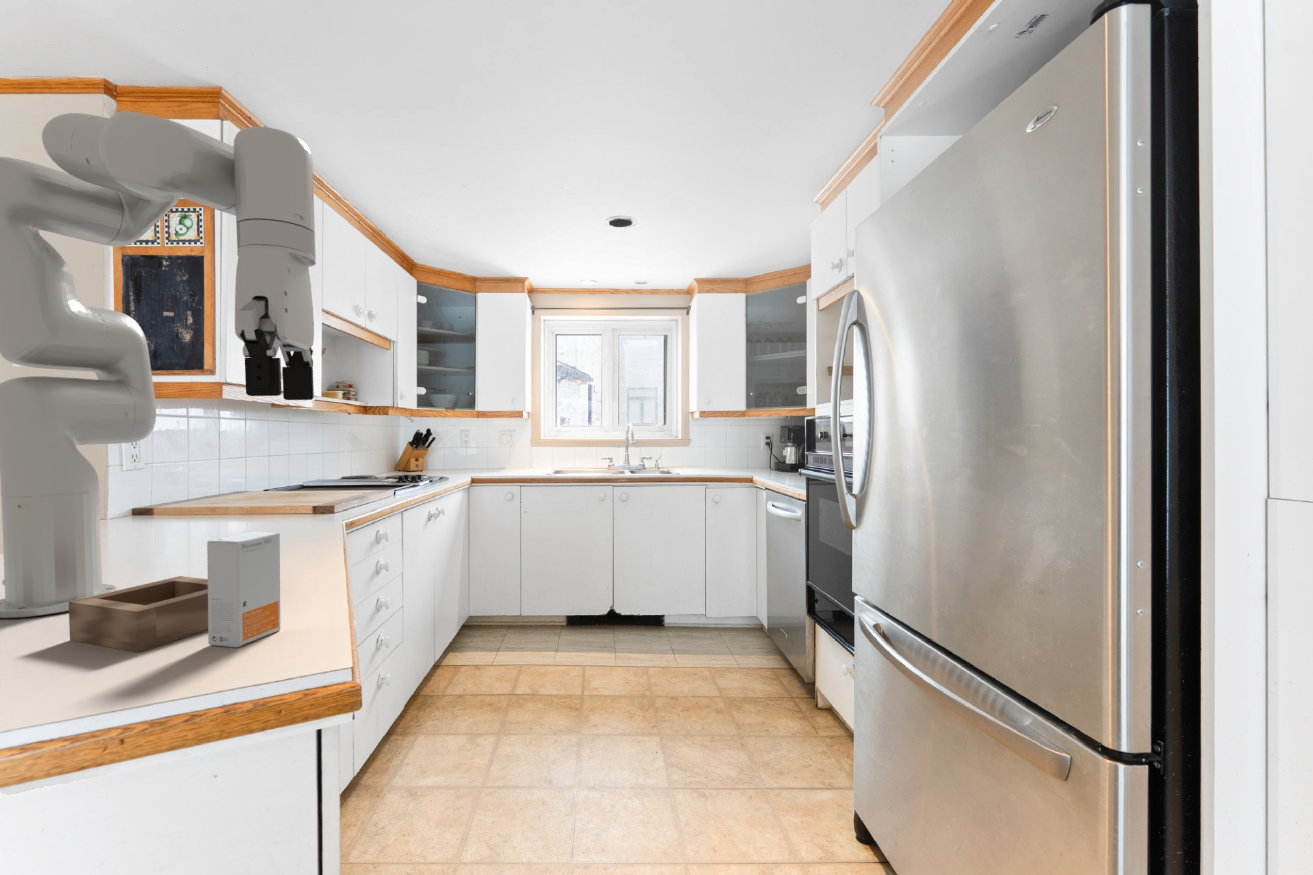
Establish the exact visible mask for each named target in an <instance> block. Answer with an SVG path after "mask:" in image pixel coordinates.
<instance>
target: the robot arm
mask: <svg viewBox="0 0 1313 875" xmlns="http://www.w3.org/2000/svg"><path fill="white" fill-rule="evenodd" d="M41 141H42V144H43V147H44V149H45V152H46V154H47V155H48V157H49V158H50V159H51V160H52V162H53V163H55V165H57V167H59V168H60V169H61V170H62V171H61V170H58V169H55V168H51V167H49V166H46V165H42V164H38V163H34V162H30V161H27V160H22V159H19V158H14V157H8V156H7V157H6V156H0V355H1V356H2V358H4V360H6V361H7V362H9V363H11V364H14V365H18V366H21V367H27V368H36V369H46V370H59V371H75V372H76V371H78V372H92V373H95V375H96V377H97V379H94V378H93V379H92V378H80V377H79V378H78V377H67V376H65V377H64V376H41V375H39V376H34V375H33V376H21V377H20V376H19V377H15V378H10V379H7V380H5V381H3V382H1V383H0V496H1V520H2V521H1V522H2V523H1V526H2V548H3V549H2V550H3V552H2V553H3V579H2V585H3V586H4V598H2V599H0V619H3V618H4V619H9V618H12V619H13V618H15V619H16V618H31V617H38V616H39V617H40V616H46V615H52V614H57V613H64V612H69V602H70V601H74V600H78V599H83V598H87V597H91V596H96V595H100V594H105V593H109V592H113V591H118V590H117V589H118V587H117V586H115V585H113V584H108V583H107V584H106V583H103V576H102V574H103V573H102V569H103V568H102V544H101V542H102V539H101V513H100V512H101V510H100V509H101V508H100V506H101V504H100V484H99V483H100V481H99V476H98V472H97V471H96V469H95V467H94V466H93V464H92V463H91V462H90V461H89V459H87V457H86V456H84V454H82V452H80V450H79V449H78V448H77V446H84V445H85V446H86V445H117V444H131V443H137V442H140V441H142V440H144V439H146V438H147V437H149V435H150V434H152V431H153V430H154V428H155V425H156V422H157V421H156V419H157V404H156V395H155V389H154V381H153V374H152V367H151V359H150V353H149V346H148V341H147V338H146V334H145V333H144V331H143V329H142V327H141V326H140V325H139V323H138V322H137V321H136V320H135V319H134V318H132V317H131V316H129V315H127V314H126V313H123V312H121V311H117V310H112V309H106V308H101V307H95V306H94V307H93V306H86V305H83V304H82V303H81V302H80V301H79V300H78V298H77V294H76V289H75V278H74V274H73V271H72V269H71V267H70V266H69V264H68V262H66V260H65V259H64V258H63V257H62V255H61V253H59V252H58V251H57V250H56V248H55V247H54V246H52V244H51V243H49V242H48V241H47V240H46V239H45V238H44V237H43V236H42V235H41V234H40V231H43V232H49V233H51V234H57V235H59V236H60V235H61V236H64V237H65V236H66V237H68V238H73V239H77V240H81V241H86V242H91V243H94V244H99V245H104V246H110V247H116V248H117V247H127V246H130V245H132V244H133V243H135V242H136V241H138V240H140V238H142V237H143V236H144V235H145V234H146V233H147V232H148V231H149V230H151V228H152V227H153V226H154V225H156V224H157V223H158V221H160V220H161V219H162V218H163V217H164V216H165V215H166V214H168V212H169V211H171V210H172V208H174V207H175V206H176V204H177V203H178V202H179V201H180V199H183V200H187V201H191V202H193V203H196V204H198V205H202V206H205V207H209V208H212V209H214V210H217V211H220V212H223V213H226V214H229V215H231V216H235V220H236V245H237V246H236V247H237V248H236V249H237V250H236V252H237V254H236V256H238V258H237V263H236V264H237V265H236V270H235V271H236V274H235V289H234V290H235V292H234V293H235V295H234V331H235V332H234V333H235V335H236V336H237V338H238V339H239V340H240V341H242V342H243V343H244V344H243V347H242V355H243V357H244V375H245V376H244V377H245V378H244V379H245V394H246V395H247V396H249V397H278V396H281V395H282V396H283V399H284V400H286V401H312V400H313V399H314V393H315V392H314V368H313V367H314V360H313V355H314V349H312V347H313V345H314V342H315V324H314V322H315V320H314V306H313V296H312V295H313V294H312V283H311V278H310V277H311V276H310V267H314V266H316V263H317V261H316V260H317V259H316V256H317V255H316V230H315V226H316V225H315V196H314V194H315V193H314V174H313V173H314V170H313V169H314V168H313V166H314V165H313V157H312V153H311V151H310V148H309V147H308V145H307V144H306V142H304V140H302V139H300V138H299V137H298V136H296V135H295V134H292V133H291V132H290V133H289V132H287V131H285V130H282V129H281V130H280V129H277V128H272V127H268V126H267V127H266V126H249V127H246V128H242V129H240V130H239V131H238V132H237V133H236V134H235V137H234V139H233V145H231V144H229V143H226V142H224V141H221V140H220V139H217V138H215V137H213V136H210V135H208V134H206V133H204V132H201V131H199V130H196V129H194V128H191V127H189V126H186V125H184V124H182V123H179V122H176V121H175V120H171V119H168V118H165V117H160V116H155V115H152V114H146V113H140V112H135V111H128V110H121V111H118V112H116V113H114V114H113V115H112V116H111V117H105V116H99V115H95V114H88V113H77V112H73V113H71V112H70V113H64V114H60V115H57V116H54V117H53V118H51V119H50V120H49V121H48V122H47V123H46V124H45V125H44V127H43V129H42V133H41ZM279 350H280V352H281V355H282V358H283V361H284V364H285V366H282V364H281V358H280V357H277V355H278V351H279ZM291 352H292V353H291Z"/></svg>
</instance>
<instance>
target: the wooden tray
mask: <svg viewBox="0 0 1313 875" xmlns="http://www.w3.org/2000/svg"><path fill="white" fill-rule="evenodd" d="M68 621H69V622H68V623H69V627H68V628H69V641H72V642H73V641H74V642H79V643H83V644H84V643H85V644H90V645H94V646H101V647H105V648H111V649H112V648H113V649H118V650H123V651H129V652H135V653H141V652H144V651H148V650H150V649H153V648H156V647H159V646H160V647H161V646H163V645H166V644H170V643H173V642H175V641H176V642H177V641H178V639H179V640H182V639H185V638H188V637H190V636H194V635H197V634H201V633H204V632H208V578H199V577H189V576H181V575H179V576H175V577H170V578H165V579H162V580H157V581H154V582H153V581H152V582H149V583H145V584H141V585H140V584H139V585H134V586H132V587H127V588H123V589H118V590H117V591H113V592H109V593H105V594H100V595H96V596H91V597H87V598H83V599H78V600H74V601H70V602H69V611H68ZM172 641H173V642H172Z"/></svg>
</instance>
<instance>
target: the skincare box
mask: <svg viewBox="0 0 1313 875" xmlns="http://www.w3.org/2000/svg"><path fill="white" fill-rule="evenodd" d="M280 542H281V537H280V533H279V532H267V531H265V532H264V531H249V532H243V533H239V534H238V533H237V534H234V535H229V536H226V537H221V538H217V539H216V538H215V539H212V540H208V541H207V543H206V544H207V545H206V547H207V550H206V551H207V579H208V630H207V632H208V633H207V636H208V645H210V646H216V647H218V646H219V647H228V648H229V647H230V648H240V647H242V646H243V645H244V646H245V645H246V644H249V643H250V642H254V641H256V640H259V639H261V638H264V637H267V636H269V635H271V634H273V633H278V632H279V631H281V543H280Z"/></svg>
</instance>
